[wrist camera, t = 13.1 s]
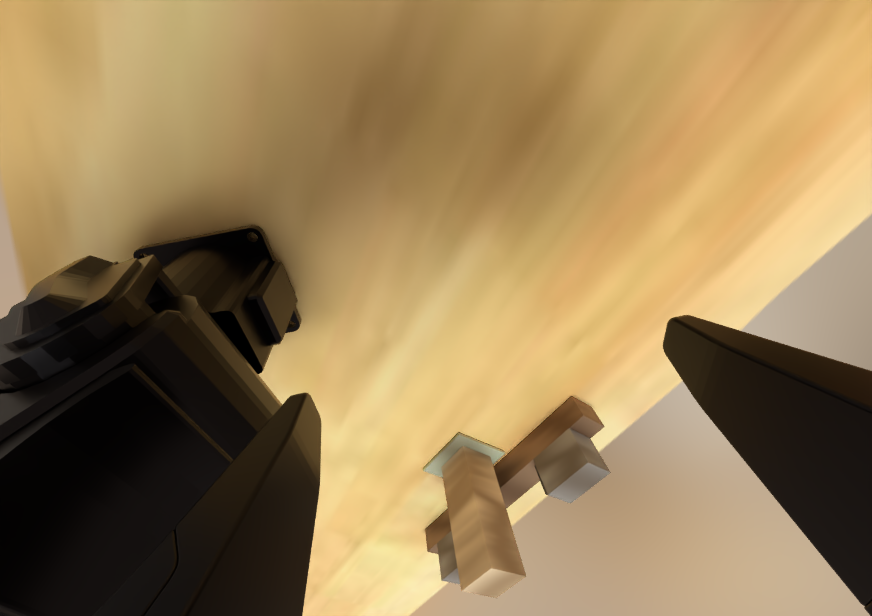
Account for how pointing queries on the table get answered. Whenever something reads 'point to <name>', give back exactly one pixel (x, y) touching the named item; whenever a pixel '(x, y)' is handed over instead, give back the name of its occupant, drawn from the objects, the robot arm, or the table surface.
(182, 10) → the table surface
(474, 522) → the tan wooden block
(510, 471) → the rail
